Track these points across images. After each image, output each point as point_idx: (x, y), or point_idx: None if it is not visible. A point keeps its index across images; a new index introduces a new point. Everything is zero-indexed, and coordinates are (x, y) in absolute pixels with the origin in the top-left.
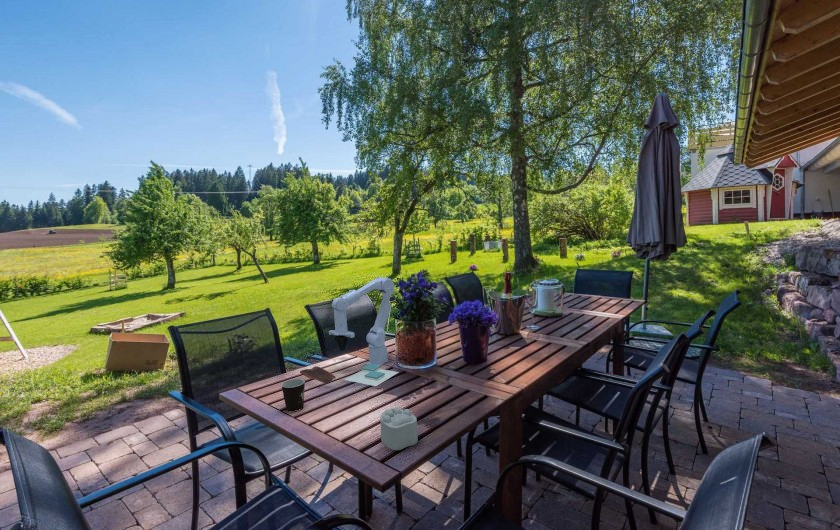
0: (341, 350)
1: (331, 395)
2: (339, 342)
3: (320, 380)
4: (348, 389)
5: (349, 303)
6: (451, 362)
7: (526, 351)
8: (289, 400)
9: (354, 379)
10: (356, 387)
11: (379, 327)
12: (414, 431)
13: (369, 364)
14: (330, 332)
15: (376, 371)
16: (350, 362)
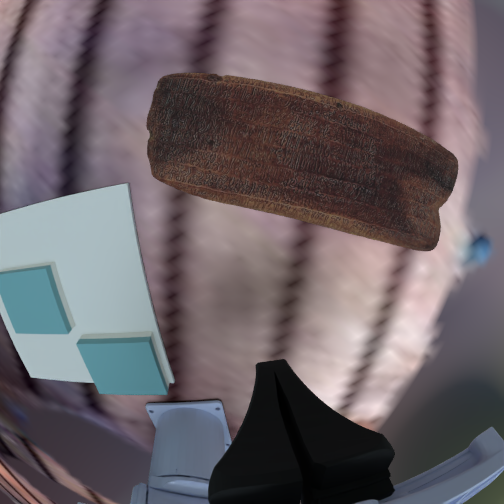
0: (264, 364)
1: (57, 32)
2: (295, 425)
3: (252, 91)
4: (31, 122)
5: None
6: (34, 459)
7: (25, 495)
8: None
9: (81, 221)
10: (19, 163)
11: None
12: None
13: (157, 390)
14: (490, 460)
15: None
16: (316, 380)
